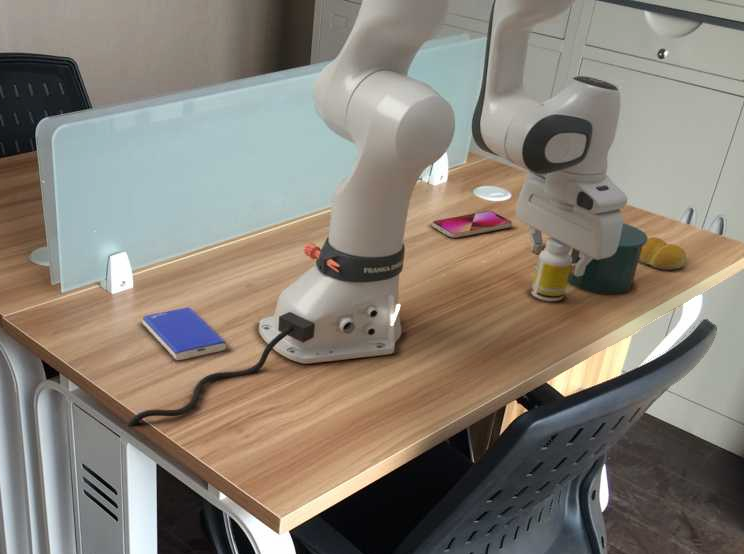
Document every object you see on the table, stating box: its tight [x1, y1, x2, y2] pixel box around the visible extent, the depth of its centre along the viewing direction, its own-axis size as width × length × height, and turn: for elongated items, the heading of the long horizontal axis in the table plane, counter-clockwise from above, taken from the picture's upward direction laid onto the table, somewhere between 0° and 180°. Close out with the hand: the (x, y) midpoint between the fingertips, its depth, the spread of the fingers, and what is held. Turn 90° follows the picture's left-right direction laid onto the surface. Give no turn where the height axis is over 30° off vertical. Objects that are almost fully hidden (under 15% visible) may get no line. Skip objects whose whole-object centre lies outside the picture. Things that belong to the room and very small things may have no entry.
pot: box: [567, 246, 643, 295], centre depth 165 cm, size 11×11×8 cm
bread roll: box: [638, 236, 687, 271], centre depth 175 cm, size 8×9×4 cm
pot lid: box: [617, 222, 648, 249], centre depth 162 cm, size 12×12×4 cm
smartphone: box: [431, 210, 513, 238], centre depth 187 cm, size 7×1×15 cm
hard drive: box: [142, 307, 227, 361], centre depth 144 cm, size 2×8×12 cm
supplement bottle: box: [530, 237, 572, 302], centre depth 159 cm, size 5×5×10 cm
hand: (556, 263), depth 159 cm, fingers open, 8 cm apart
